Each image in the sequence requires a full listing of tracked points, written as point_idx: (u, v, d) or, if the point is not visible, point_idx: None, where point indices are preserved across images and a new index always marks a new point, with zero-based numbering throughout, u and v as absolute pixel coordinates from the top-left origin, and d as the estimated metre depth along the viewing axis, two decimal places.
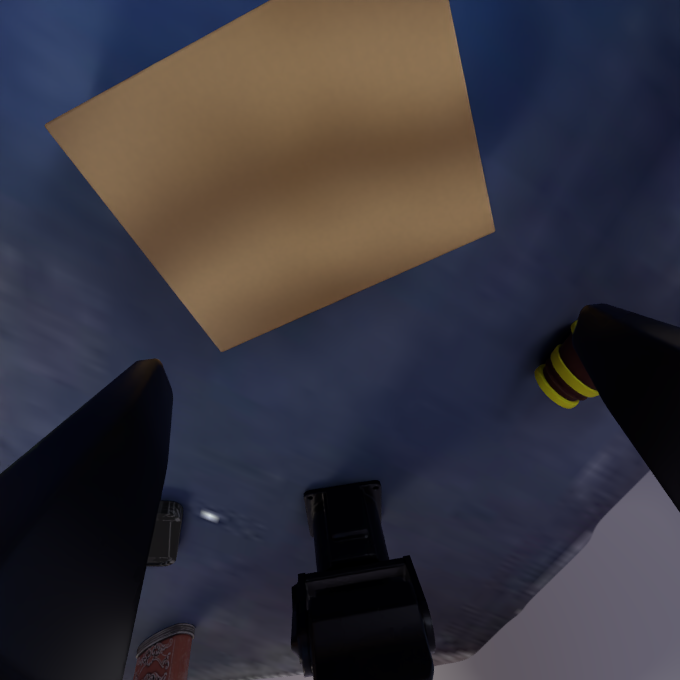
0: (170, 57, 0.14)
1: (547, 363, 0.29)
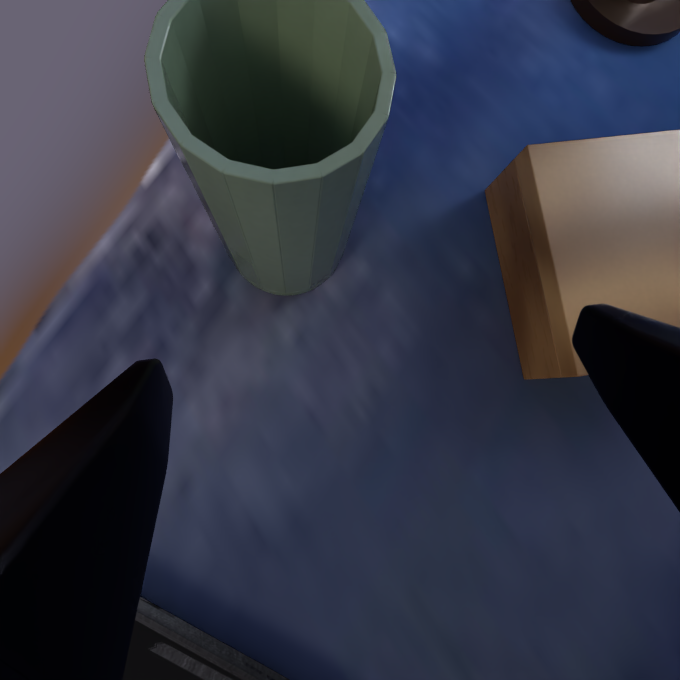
0: (621, 136, 0.21)
1: None
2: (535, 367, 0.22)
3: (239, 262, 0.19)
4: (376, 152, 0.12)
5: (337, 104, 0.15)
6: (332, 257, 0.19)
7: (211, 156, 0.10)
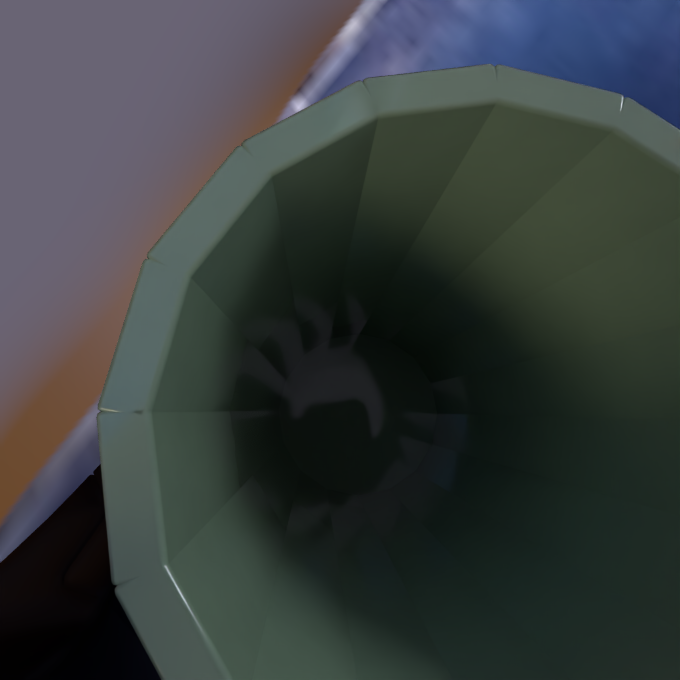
0: None
1: None
2: None
3: None
4: None
5: (516, 309, 0.08)
6: None
7: None
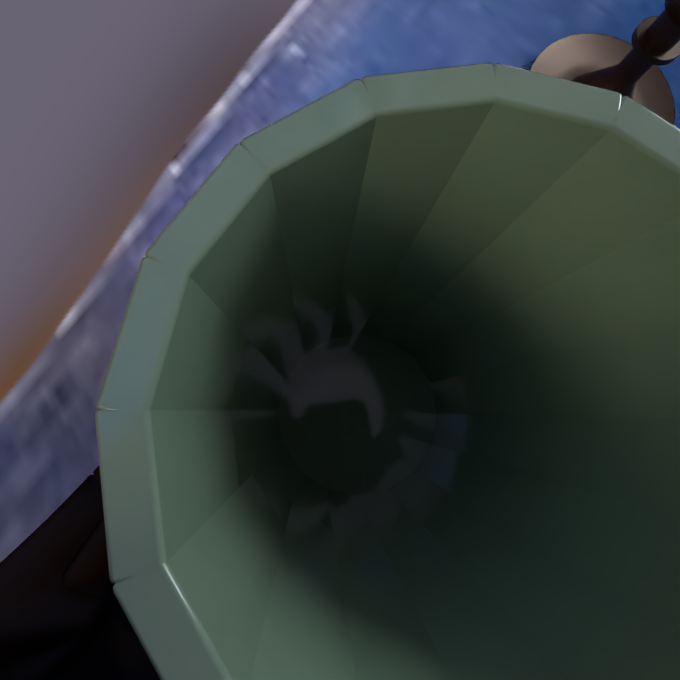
0: None
1: None
2: None
3: None
4: None
5: (515, 308, 0.08)
6: None
7: None
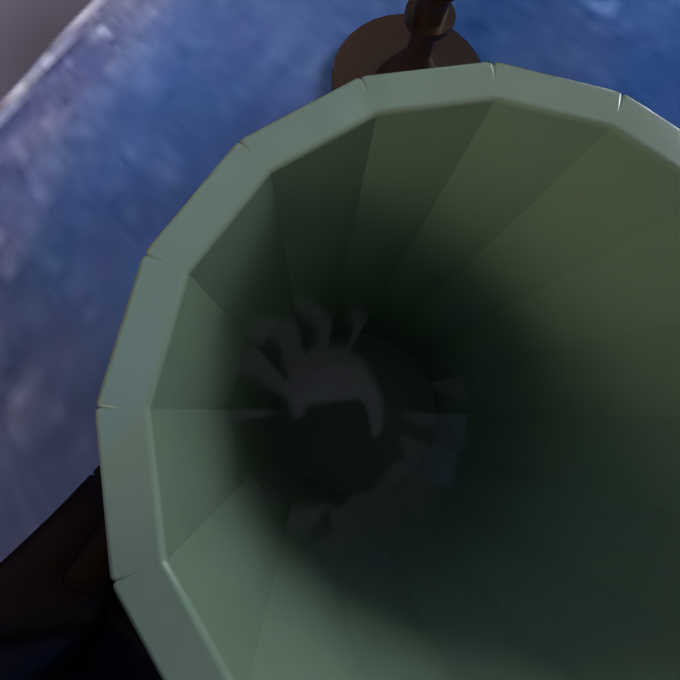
0: None
1: None
2: None
3: None
4: None
5: (515, 308, 0.08)
6: None
7: None
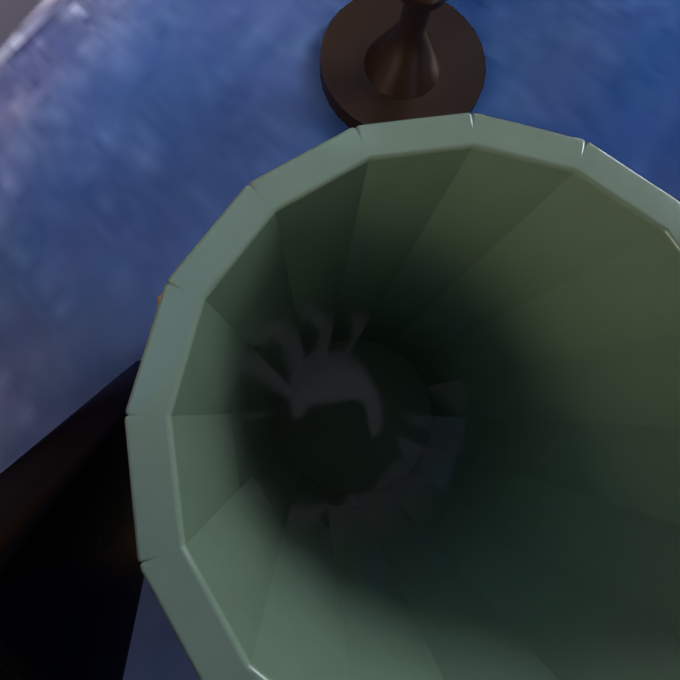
0: None
1: None
2: None
3: None
4: None
5: (502, 320, 0.08)
6: None
7: None
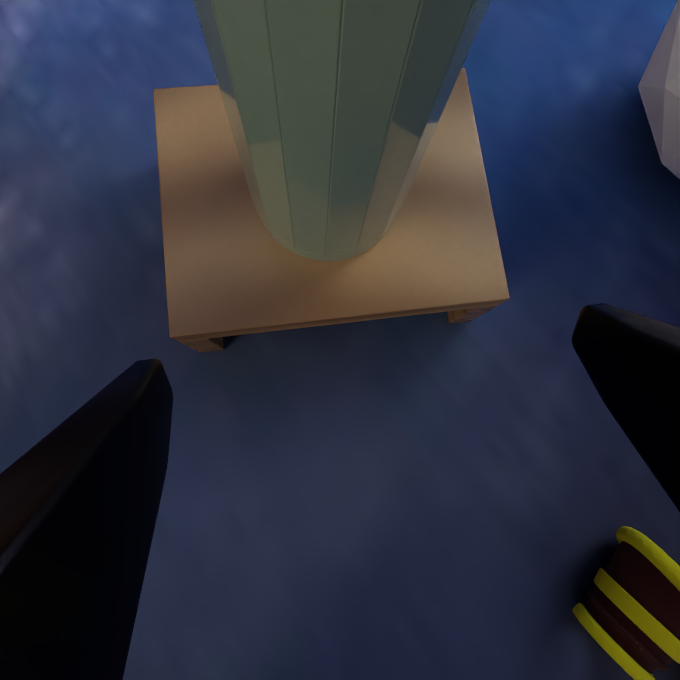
0: None
1: (590, 592, 0.19)
2: None
3: (268, 202, 0.14)
4: None
5: None
6: (395, 196, 0.14)
7: None
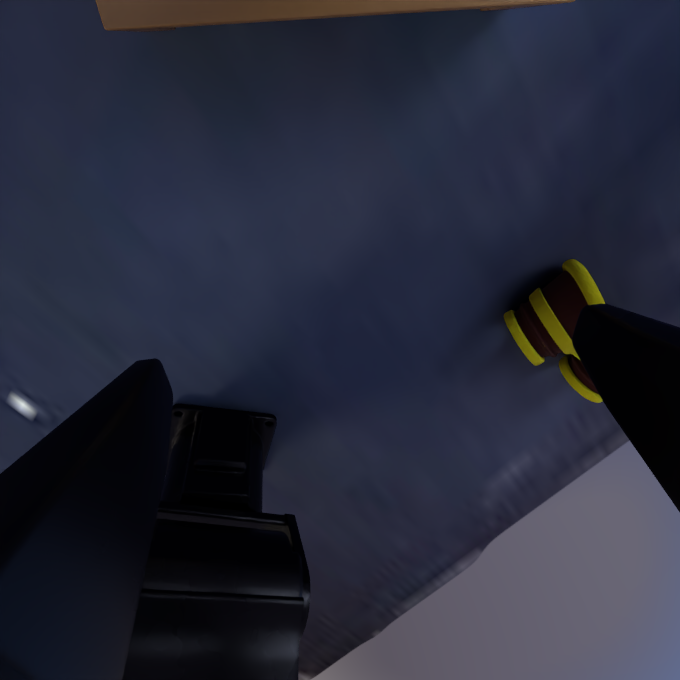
0: None
1: (523, 305, 0.24)
2: None
3: None
4: None
5: None
6: None
7: None
